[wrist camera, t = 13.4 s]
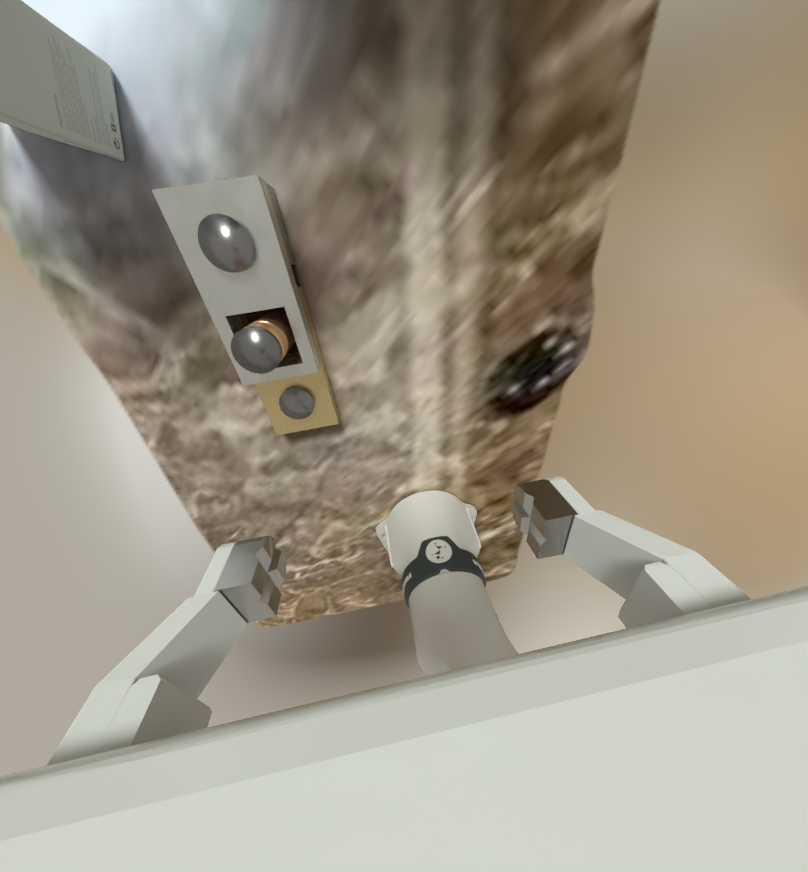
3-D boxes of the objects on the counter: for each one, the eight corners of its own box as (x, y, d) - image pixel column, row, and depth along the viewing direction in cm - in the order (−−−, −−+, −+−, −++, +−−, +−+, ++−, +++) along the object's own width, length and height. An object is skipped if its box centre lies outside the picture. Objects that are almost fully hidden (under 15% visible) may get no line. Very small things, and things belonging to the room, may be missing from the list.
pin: (302, 344, 34) (286, 369, 26) (268, 350, 33) (242, 377, 26) (290, 308, 32) (270, 324, 24) (254, 314, 31) (222, 332, 24)
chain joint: (339, 415, 39) (337, 438, 34) (281, 426, 39) (270, 450, 34) (273, 189, 26) (254, 172, 21) (185, 201, 26) (144, 187, 21)
